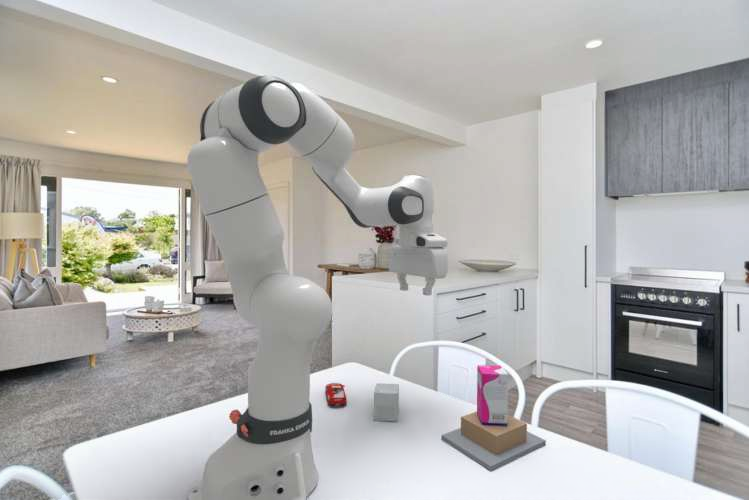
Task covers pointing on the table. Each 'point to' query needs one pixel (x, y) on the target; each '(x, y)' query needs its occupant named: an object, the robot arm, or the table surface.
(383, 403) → the product box
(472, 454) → the build base
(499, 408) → the supplement box
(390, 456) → the table surface
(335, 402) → the race car
